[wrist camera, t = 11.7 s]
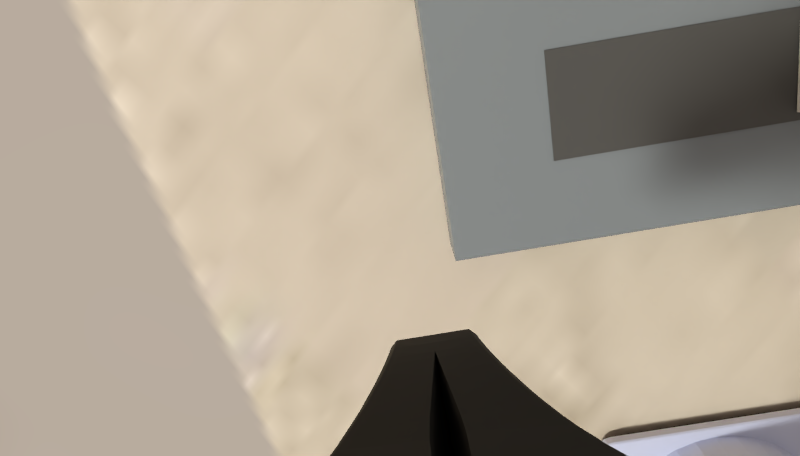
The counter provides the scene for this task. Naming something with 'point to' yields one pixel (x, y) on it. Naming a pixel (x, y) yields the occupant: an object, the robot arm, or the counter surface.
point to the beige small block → (799, 96)
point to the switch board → (608, 115)
